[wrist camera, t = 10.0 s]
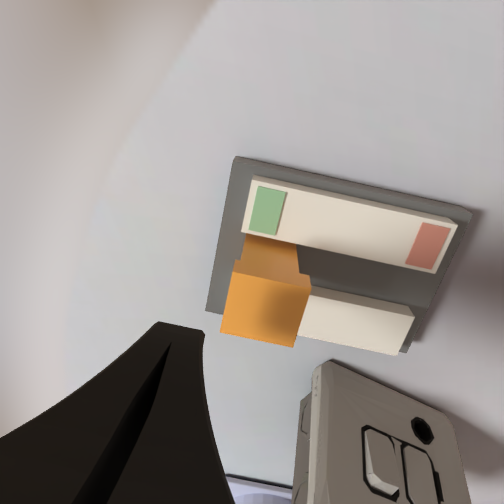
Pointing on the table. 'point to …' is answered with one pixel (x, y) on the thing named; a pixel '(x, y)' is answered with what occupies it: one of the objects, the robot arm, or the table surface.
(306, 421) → the electrical switch
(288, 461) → the table surface
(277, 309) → the breaker handle
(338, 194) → the breaker base
